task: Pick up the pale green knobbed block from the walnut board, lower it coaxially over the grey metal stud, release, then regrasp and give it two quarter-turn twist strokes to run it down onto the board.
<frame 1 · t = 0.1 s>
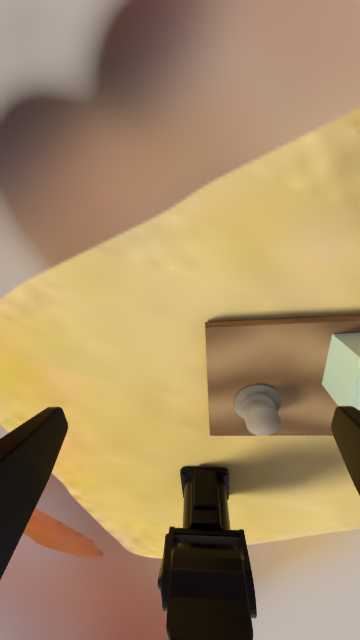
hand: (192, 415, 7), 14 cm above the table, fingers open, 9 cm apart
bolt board: (293, 378, 24), on the table
pale green knobbed block: (358, 359, 21), point 1 cm above the table, touching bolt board
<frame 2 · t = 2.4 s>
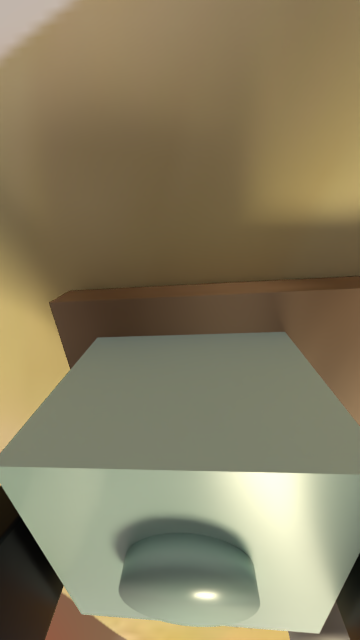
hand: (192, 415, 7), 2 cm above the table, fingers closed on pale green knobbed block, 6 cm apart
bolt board: (260, 467, 11), on the table
pale green knobbed block: (192, 406, 8), point 1 cm above the table, touching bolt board, gripper
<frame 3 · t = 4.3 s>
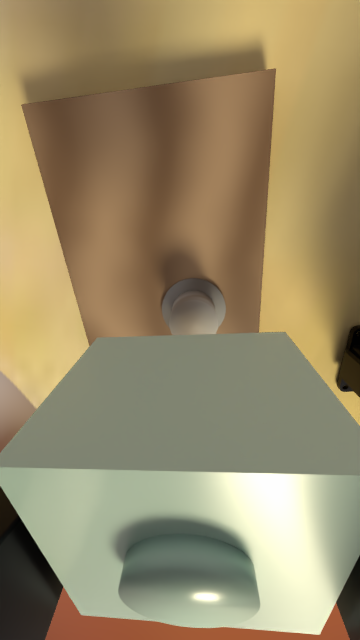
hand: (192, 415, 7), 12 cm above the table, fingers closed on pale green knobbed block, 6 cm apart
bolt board: (163, 255, 17), on the table
pale green knobbed block: (192, 406, 8), point 11 cm above the table, touching gripper
when the fingers open (3 cm above the table, at t = 6.5 s): pale green knobbed block stays where it is, resting on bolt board.
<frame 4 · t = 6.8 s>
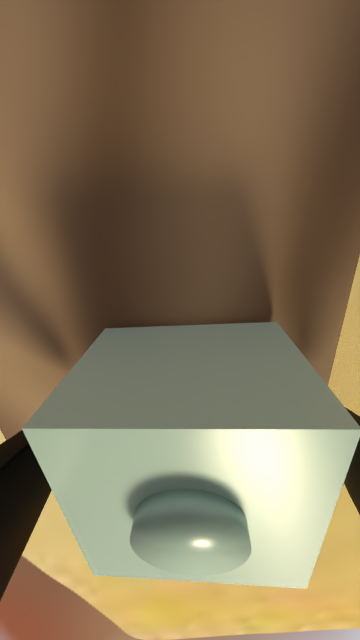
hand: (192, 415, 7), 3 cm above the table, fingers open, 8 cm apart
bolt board: (133, 280, 8), on the table
pale green knobbed block: (192, 392, 8), point 1 cm above the table, touching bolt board
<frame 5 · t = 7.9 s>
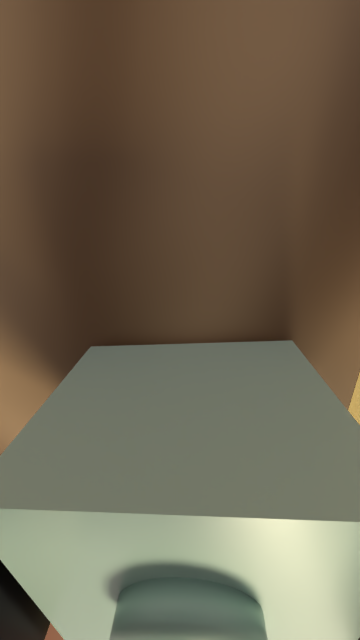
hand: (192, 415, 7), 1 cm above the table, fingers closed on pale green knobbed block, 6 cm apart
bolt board: (125, 289, 7), on the table
pale green knobbed block: (192, 417, 7), point 1 cm above the table, touching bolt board, gripper
when the fingers open (1 cm above the table, at t = 9.4 s): pale green knobbed block stays where it is, resting on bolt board.
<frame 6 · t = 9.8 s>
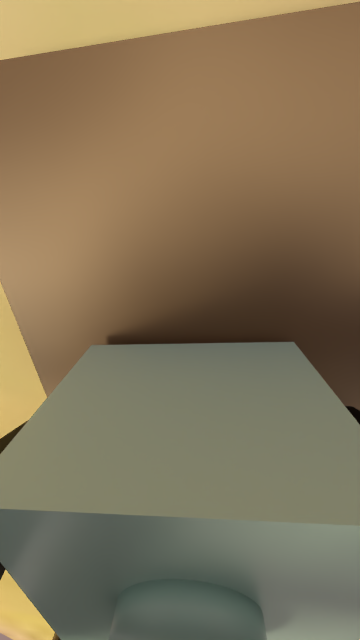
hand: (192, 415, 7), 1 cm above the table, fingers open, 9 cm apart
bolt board: (308, 337, 8), on the table
pale green knobbed block: (192, 418, 7), point 1 cm above the table, touching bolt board
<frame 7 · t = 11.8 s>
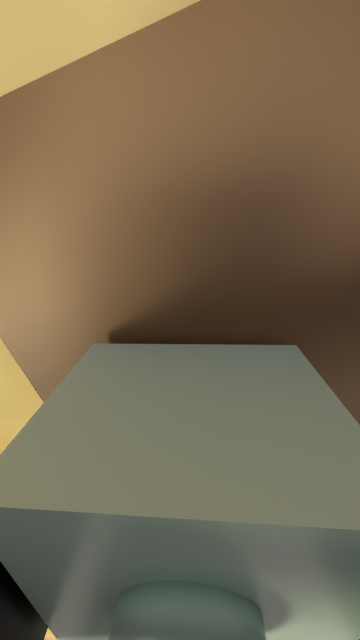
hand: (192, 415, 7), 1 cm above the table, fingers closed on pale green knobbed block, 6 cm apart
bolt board: (296, 317, 7), on the table
pale green knobbed block: (192, 418, 7), point 2 cm above the table, touching gripper
when the fingers open (1 cm above the table, at t = 12.2 s): pale green knobbed block stays where it is, resting on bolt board.
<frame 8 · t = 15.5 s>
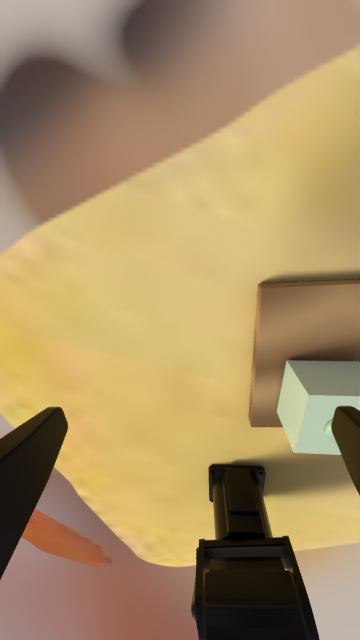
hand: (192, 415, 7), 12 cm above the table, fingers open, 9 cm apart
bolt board: (358, 357, 20), on the table
pale green knobbed block: (314, 388, 19), point 1 cm above the table, touching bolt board
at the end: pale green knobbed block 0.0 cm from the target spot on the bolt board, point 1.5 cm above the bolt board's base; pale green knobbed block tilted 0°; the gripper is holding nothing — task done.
